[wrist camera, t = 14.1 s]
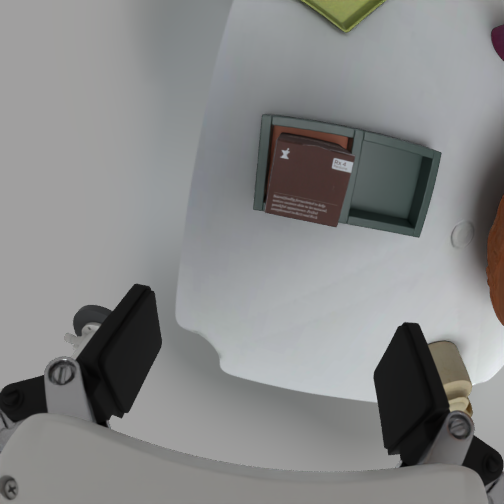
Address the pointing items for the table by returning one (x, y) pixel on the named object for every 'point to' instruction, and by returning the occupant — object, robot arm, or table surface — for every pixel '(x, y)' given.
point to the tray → (363, 173)
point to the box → (308, 179)
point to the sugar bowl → (452, 375)
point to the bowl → (496, 262)
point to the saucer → (344, 11)
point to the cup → (498, 40)
